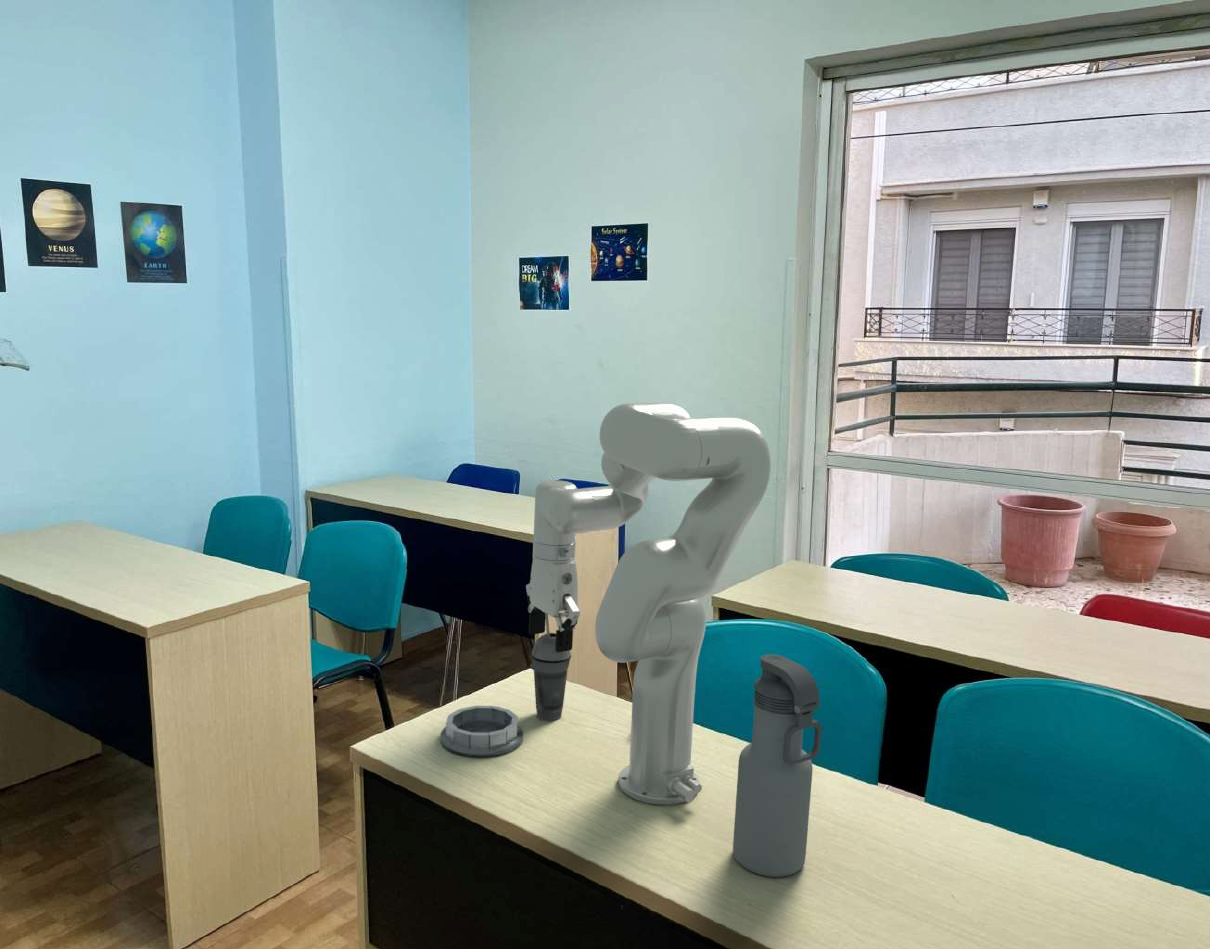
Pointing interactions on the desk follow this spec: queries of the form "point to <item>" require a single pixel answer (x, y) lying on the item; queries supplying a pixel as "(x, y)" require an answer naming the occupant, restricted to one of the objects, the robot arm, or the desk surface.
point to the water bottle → (777, 771)
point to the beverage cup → (549, 676)
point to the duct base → (481, 732)
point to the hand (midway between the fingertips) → (549, 641)
